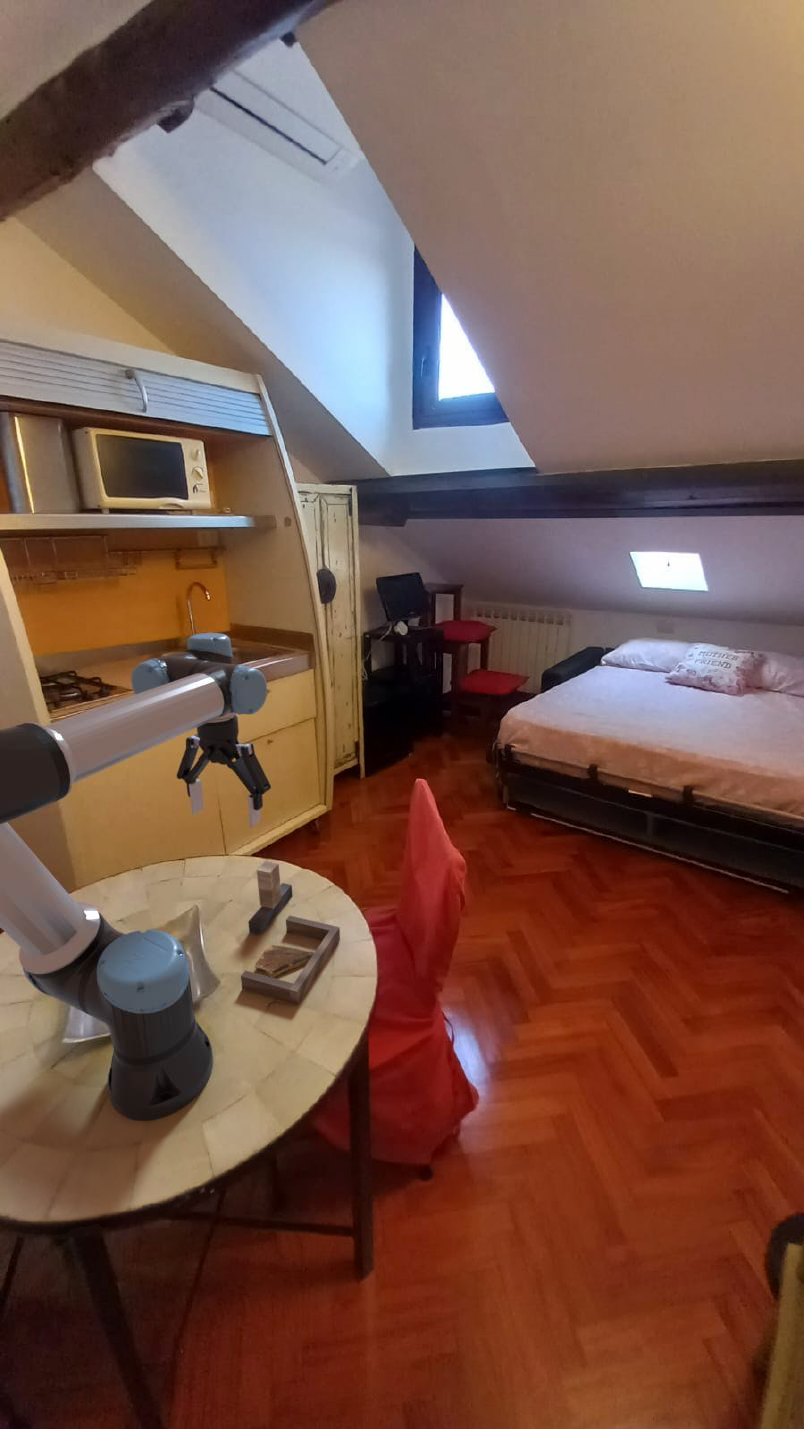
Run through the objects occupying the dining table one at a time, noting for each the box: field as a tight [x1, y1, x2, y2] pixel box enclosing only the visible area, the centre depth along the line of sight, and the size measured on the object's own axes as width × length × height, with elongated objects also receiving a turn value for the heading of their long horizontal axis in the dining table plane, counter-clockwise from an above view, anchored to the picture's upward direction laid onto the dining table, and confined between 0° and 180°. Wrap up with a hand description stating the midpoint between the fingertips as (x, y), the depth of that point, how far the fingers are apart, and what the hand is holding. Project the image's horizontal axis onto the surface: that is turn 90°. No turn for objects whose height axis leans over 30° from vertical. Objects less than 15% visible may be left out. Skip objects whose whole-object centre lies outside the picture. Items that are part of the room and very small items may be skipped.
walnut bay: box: [240, 915, 341, 1006], centre depth 115 cm, size 18×12×3 cm, turn 161°
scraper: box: [248, 860, 293, 936], centre depth 128 cm, size 14×3×12 cm, turn 161°
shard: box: [254, 944, 315, 978], centre depth 115 cm, size 11×8×2 cm
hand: (226, 817), depth 118 cm, fingers open, 13 cm apart
